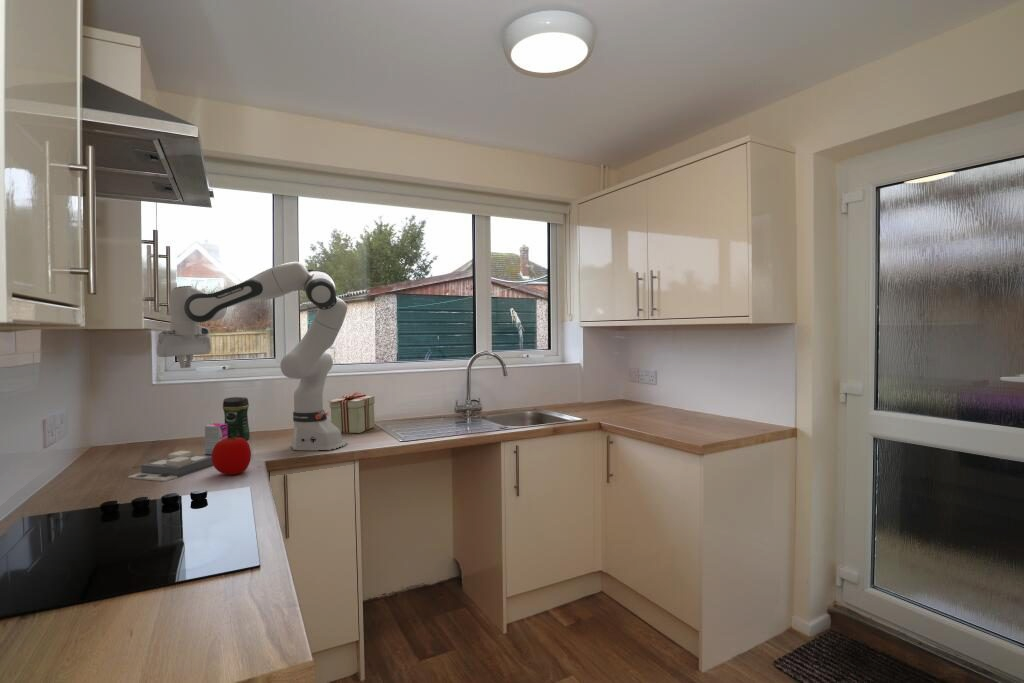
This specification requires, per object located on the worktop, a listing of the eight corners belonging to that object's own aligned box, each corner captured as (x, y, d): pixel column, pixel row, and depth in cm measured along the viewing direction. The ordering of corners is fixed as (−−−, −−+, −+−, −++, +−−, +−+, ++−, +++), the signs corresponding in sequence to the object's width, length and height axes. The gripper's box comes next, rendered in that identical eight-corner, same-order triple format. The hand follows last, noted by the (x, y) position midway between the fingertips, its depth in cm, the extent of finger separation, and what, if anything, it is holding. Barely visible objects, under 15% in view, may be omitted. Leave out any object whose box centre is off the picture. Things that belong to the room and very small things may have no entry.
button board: (216, 464, 187) (215, 456, 187) (165, 481, 167) (165, 472, 167) (181, 461, 191) (181, 453, 191) (127, 477, 171) (127, 468, 171)
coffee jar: (253, 438, 228) (251, 396, 227) (242, 442, 220) (240, 398, 219) (232, 437, 229) (230, 395, 228) (220, 442, 221) (219, 398, 220)
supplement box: (219, 456, 198) (218, 426, 198) (204, 455, 199) (203, 426, 198) (228, 452, 204) (227, 423, 204) (214, 451, 205) (213, 422, 204)
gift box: (340, 425, 254) (339, 390, 253) (376, 427, 251) (375, 391, 250) (322, 433, 237) (321, 395, 236) (360, 434, 234) (359, 396, 233)
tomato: (260, 470, 179) (259, 434, 178) (231, 480, 168) (230, 441, 167) (232, 467, 183) (231, 431, 183) (203, 476, 172) (202, 439, 172)
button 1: (174, 467, 180) (174, 460, 180) (161, 471, 176) (161, 464, 176) (163, 466, 182) (163, 459, 182) (150, 470, 177) (149, 463, 177)
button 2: (191, 464, 179) (190, 457, 178) (178, 468, 174) (178, 461, 174) (179, 463, 180) (179, 456, 180) (166, 467, 175) (166, 460, 175)
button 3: (192, 458, 187) (191, 451, 187) (179, 461, 182) (179, 455, 182) (180, 457, 188) (180, 450, 188) (168, 460, 184) (168, 454, 184)
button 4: (208, 463, 185) (207, 456, 185) (196, 467, 181) (196, 460, 180) (196, 462, 187) (196, 455, 187) (184, 466, 182) (184, 459, 182)
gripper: (165, 330, 181) (166, 370, 182) (213, 329, 201) (214, 365, 201) (151, 330, 183) (152, 370, 183) (200, 329, 202) (201, 365, 203)
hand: (185, 367), depth 192 cm, fingers closed
